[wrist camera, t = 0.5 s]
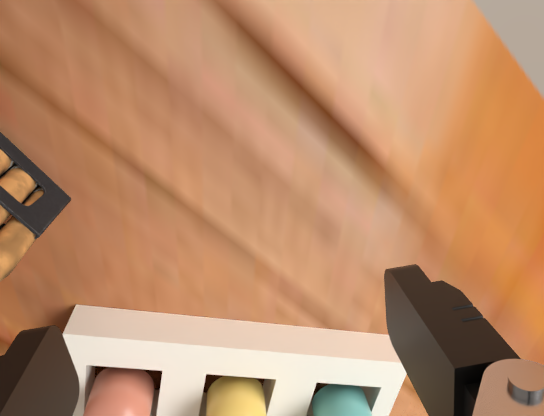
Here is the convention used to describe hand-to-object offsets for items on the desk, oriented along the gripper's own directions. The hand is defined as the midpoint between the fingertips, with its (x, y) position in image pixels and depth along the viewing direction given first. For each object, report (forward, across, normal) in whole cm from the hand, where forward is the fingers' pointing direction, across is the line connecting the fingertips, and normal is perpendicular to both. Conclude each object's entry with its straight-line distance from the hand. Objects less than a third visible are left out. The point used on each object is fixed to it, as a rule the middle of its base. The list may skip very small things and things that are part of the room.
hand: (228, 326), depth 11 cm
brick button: (+17, +10, +16) cm, 25 cm away
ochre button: (+17, +3, +18) cm, 25 cm away
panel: (+20, +2, +18) cm, 27 cm away
